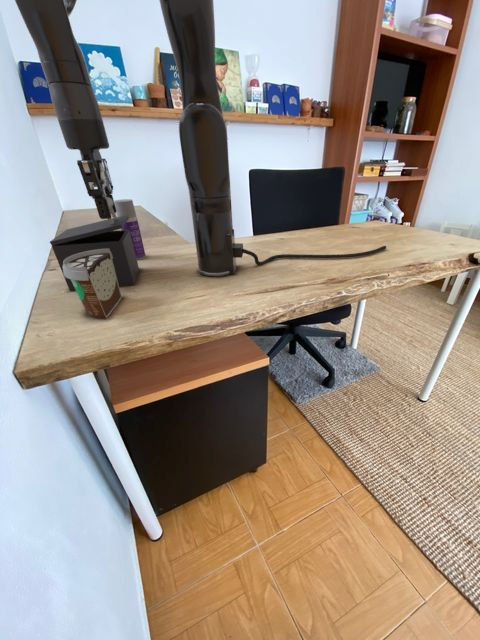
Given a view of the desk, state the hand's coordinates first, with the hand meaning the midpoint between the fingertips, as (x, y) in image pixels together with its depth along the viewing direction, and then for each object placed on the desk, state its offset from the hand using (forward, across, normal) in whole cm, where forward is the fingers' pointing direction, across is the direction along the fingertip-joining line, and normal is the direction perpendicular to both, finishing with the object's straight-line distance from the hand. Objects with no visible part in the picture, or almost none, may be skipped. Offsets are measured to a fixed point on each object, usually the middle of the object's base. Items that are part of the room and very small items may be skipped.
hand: (109, 215), depth 64 cm
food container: (+14, -17, +3) cm, 22 cm away
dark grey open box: (+14, 0, +5) cm, 15 cm away
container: (+14, +16, -1) cm, 22 cm away
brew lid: (+3, 0, +4) cm, 5 cm away
